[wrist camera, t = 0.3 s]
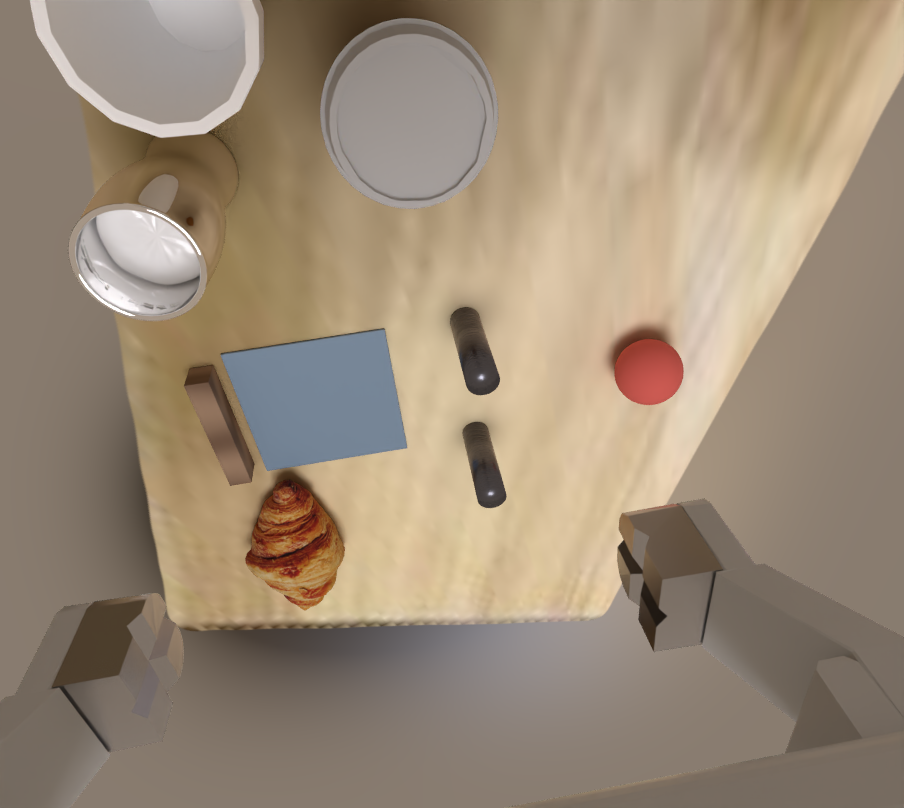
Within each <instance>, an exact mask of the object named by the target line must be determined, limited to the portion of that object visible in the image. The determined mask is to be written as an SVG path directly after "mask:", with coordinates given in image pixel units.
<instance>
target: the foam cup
mask: <svg viewBox="0 0 904 808" xmlns="http://www.w3.org/2000/svg"><path fill="white" fill-rule="evenodd" d="M30 4H31V9H32V14H33V19H34V23H35V28H36V34H37V35H38V37H39V39H40V40H41V42H42V43H43V45H44V47H45V48H46V50H47V51H48V53H49V55H50V56H51V58H52V59H53V61H54V62H55V64H56V66H57V67H58V69H59V70H60V72H61V74H62V75H63V77H64V78H65V80H66V82H67V83H68V85H69V86H70V87H71V88H73V89H74V90H75V91H76V92H77V93H79V94H80V95H81V96H82V97H84V98H85V99H86V100H87V101H89V102H90V103H91V104H92V105H93V106H95V107H96V108H97V109H98V110H100V111H101V112H102V113H103V114H105V115H106V116H107V117H108V118H109V119H111V120H112V121H113V122H116V123H119V124H122V125H125V126H128V127H131V128H134V129H137V130H140V131H142V132H145V133H148V134H151V135H154V136H157V137H160V138H164V137H175V136H186V135H197V134H206V133H207V132H209V131H210V130H211V129H213V128H214V127H216V126H217V125H219V124H220V123H222V122H223V121H225V120H226V119H228V118H229V117H230V116H232V115H233V114H235V113H236V112H238V111H239V110H240V109H241V107H242V105H243V103H244V101H245V99H246V97H247V95H248V93H249V91H250V89H251V86H252V84H253V82H254V80H255V78H256V76H257V74H258V72H259V70H260V68H261V65H262V63H263V61H264V10H263V7H262V5H261V2H260V0H30Z"/></svg>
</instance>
